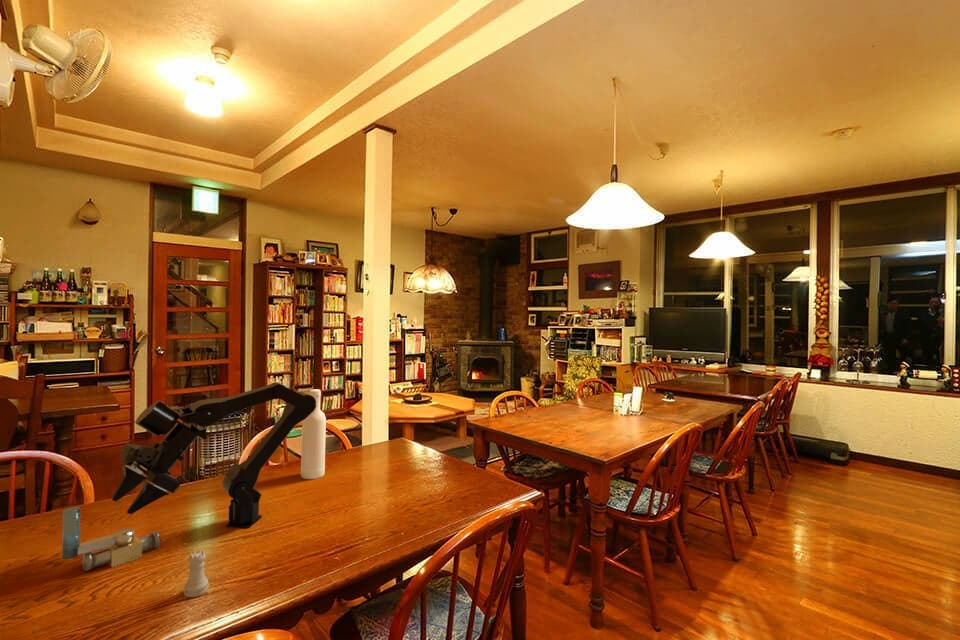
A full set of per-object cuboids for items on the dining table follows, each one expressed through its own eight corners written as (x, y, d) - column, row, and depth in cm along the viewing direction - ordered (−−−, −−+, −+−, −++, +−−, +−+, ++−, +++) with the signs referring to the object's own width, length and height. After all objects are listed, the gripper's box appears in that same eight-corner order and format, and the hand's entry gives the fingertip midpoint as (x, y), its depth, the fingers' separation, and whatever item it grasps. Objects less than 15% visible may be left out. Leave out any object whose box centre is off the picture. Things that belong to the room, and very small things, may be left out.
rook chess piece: (190, 585, 95) (191, 547, 95) (213, 585, 96) (214, 547, 96) (178, 598, 91) (179, 559, 91) (202, 598, 91) (203, 559, 91)
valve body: (153, 542, 112) (153, 526, 112) (161, 550, 108) (162, 534, 108) (81, 566, 101) (81, 548, 101) (88, 575, 97) (88, 557, 97)
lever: (131, 534, 107) (132, 492, 107) (136, 540, 105) (137, 497, 104) (60, 554, 98) (61, 508, 98) (63, 561, 95) (64, 514, 95)
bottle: (308, 470, 164) (310, 387, 164) (328, 472, 163) (331, 388, 162) (296, 478, 156) (298, 391, 156) (317, 480, 155) (320, 392, 154)
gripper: (130, 421, 112) (74, 480, 104) (162, 438, 101) (102, 505, 94) (167, 443, 119) (118, 499, 111) (201, 461, 109) (149, 525, 101)
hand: (121, 506), depth 104 cm, fingers open, 9 cm apart
